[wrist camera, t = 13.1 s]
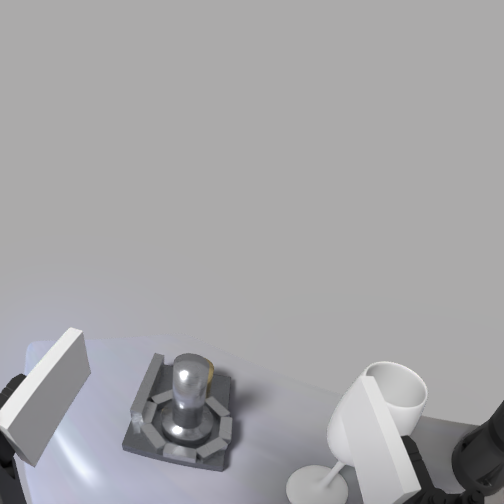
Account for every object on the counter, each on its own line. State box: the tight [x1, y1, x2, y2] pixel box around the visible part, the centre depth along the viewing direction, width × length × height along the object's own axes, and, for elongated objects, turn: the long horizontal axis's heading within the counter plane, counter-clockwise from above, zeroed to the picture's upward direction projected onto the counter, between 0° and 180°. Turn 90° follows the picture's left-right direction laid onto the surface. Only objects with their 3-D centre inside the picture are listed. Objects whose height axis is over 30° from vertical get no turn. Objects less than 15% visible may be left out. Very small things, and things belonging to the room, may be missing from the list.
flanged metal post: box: [161, 353, 213, 446], centre depth 32 cm, size 7×7×12 cm
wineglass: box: [286, 361, 428, 504], centre depth 24 cm, size 9×9×21 cm
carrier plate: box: [122, 353, 232, 472], centre depth 36 cm, size 14×18×6 cm
